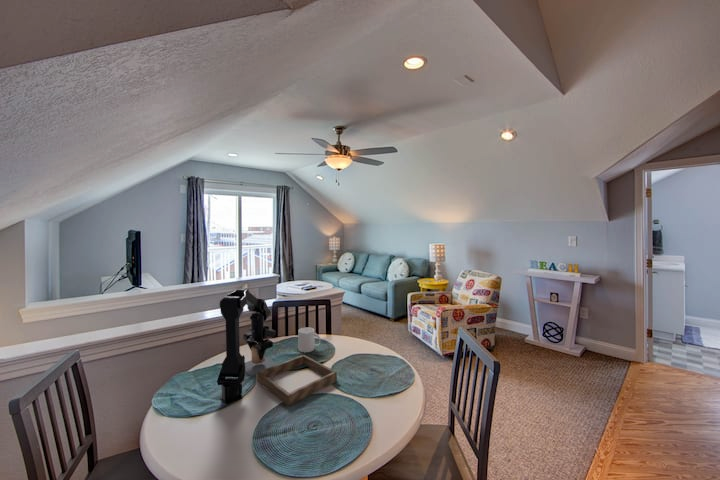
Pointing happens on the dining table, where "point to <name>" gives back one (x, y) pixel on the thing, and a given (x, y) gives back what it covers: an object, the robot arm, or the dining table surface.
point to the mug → (307, 339)
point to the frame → (299, 393)
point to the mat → (258, 366)
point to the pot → (256, 356)
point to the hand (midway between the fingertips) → (258, 357)
